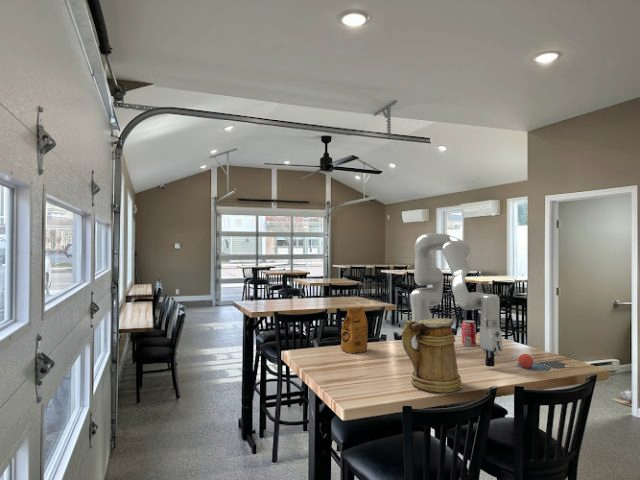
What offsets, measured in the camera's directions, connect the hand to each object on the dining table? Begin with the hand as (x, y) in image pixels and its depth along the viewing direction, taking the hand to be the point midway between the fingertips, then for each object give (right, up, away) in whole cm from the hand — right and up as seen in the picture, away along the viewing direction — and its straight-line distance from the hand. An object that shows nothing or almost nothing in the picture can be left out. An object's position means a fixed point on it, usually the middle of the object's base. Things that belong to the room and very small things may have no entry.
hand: (489, 365), depth 181 cm
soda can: (+7, -3, +44) cm, 45 cm away
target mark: (+21, -2, +5) cm, 22 cm away
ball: (+17, +1, +3) cm, 17 cm away
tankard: (-31, -1, -22) cm, 39 cm away
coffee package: (-56, -2, +30) cm, 64 cm away
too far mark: (+33, -2, +8) cm, 34 cm away
